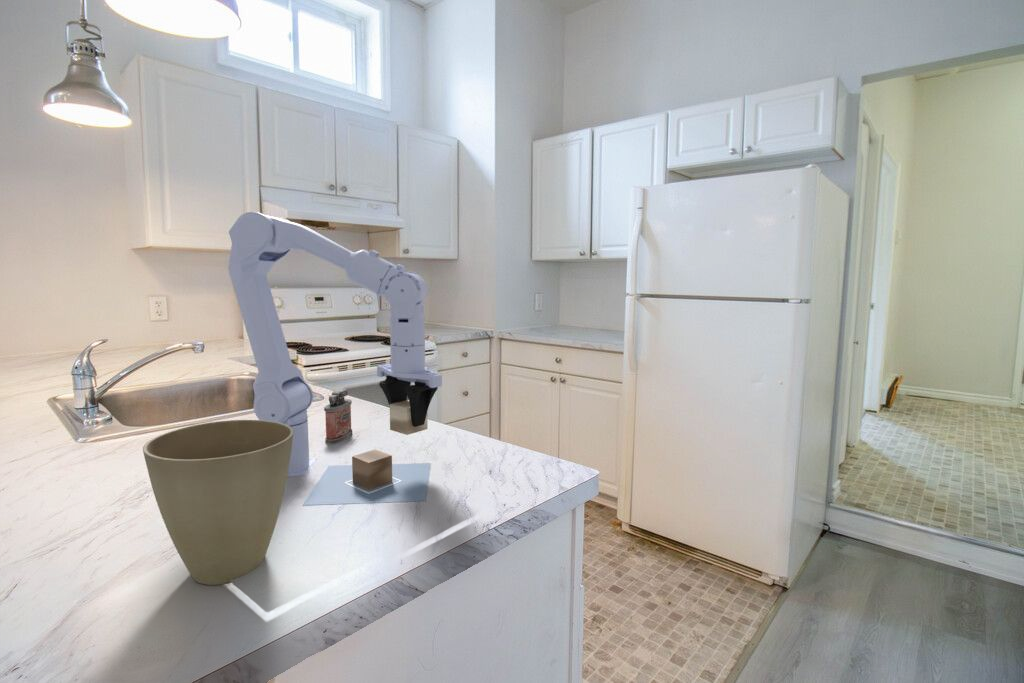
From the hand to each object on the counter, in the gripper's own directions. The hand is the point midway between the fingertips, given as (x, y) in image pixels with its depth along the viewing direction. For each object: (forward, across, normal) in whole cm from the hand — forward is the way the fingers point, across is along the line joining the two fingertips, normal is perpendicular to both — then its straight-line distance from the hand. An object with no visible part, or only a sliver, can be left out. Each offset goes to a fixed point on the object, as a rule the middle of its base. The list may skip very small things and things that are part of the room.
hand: (408, 422), depth 89 cm
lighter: (+10, +27, -4) cm, 29 cm away
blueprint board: (+9, +1, +7) cm, 12 cm away
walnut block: (+9, +1, +7) cm, 11 cm away
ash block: (+1, 0, 0) cm, 1 cm away
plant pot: (+10, -6, +32) cm, 34 cm away
